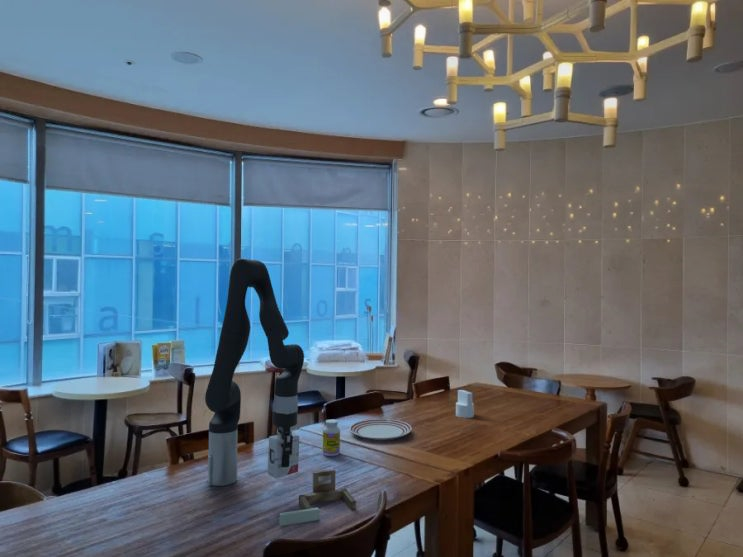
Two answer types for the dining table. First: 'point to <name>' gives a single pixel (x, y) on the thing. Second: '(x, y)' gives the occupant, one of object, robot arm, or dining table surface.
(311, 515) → the pale green bar
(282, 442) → the ink box
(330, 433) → the supplement bottle
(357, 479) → the dining table surface
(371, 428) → the dinner plate
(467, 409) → the base with upright slab
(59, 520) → the dining table surface
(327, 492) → the rack bay
